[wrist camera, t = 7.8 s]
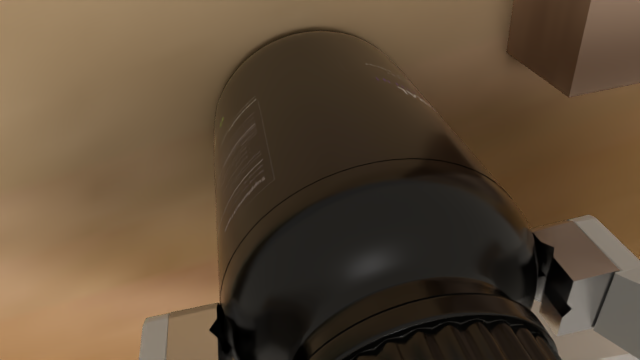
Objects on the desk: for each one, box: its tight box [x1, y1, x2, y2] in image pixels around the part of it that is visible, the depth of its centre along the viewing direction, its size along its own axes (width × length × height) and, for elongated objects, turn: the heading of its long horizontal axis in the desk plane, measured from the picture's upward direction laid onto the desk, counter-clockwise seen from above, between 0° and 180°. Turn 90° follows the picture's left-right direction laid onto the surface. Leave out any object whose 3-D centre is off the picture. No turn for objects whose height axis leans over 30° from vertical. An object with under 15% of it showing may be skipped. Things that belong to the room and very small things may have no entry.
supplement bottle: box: [214, 31, 562, 360], centre depth 12 cm, size 7×7×12 cm
